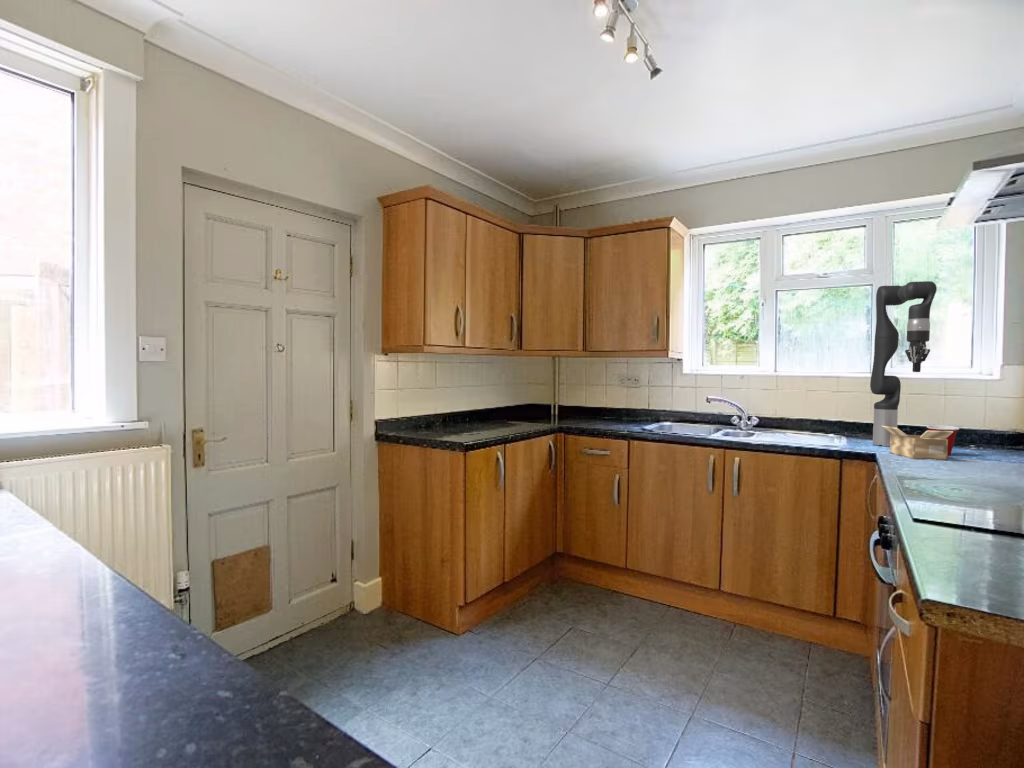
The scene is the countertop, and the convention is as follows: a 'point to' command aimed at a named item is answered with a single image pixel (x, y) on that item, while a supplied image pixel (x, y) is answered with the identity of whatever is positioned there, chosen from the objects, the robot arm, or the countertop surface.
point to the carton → (919, 447)
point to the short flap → (936, 434)
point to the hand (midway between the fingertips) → (916, 372)
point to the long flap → (894, 431)
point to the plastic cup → (949, 438)
